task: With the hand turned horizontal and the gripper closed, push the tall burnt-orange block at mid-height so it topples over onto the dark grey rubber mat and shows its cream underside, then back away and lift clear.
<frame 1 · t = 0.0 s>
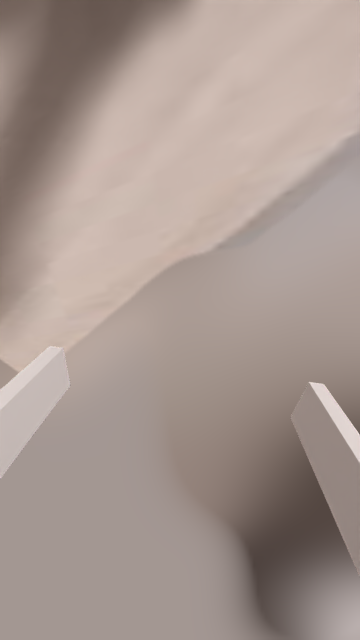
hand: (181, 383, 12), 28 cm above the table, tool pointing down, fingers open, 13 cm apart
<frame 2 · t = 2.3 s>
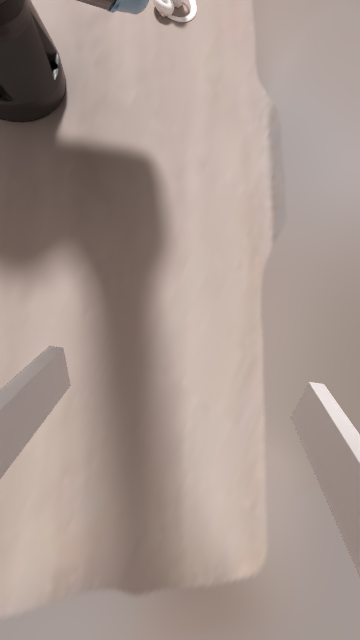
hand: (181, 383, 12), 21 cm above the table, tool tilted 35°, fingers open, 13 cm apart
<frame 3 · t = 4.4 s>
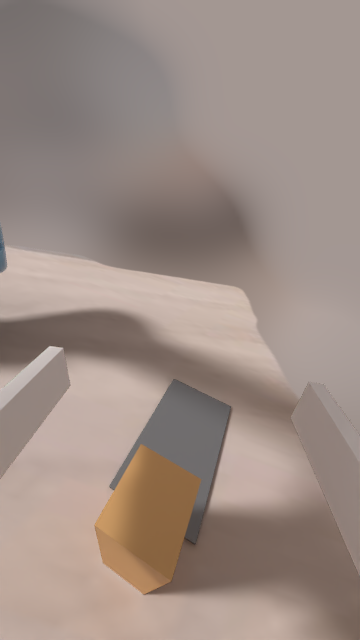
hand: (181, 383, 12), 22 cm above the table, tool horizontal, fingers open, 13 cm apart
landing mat: (181, 440, 31), on the table
tall block: (136, 546, 21), on the table
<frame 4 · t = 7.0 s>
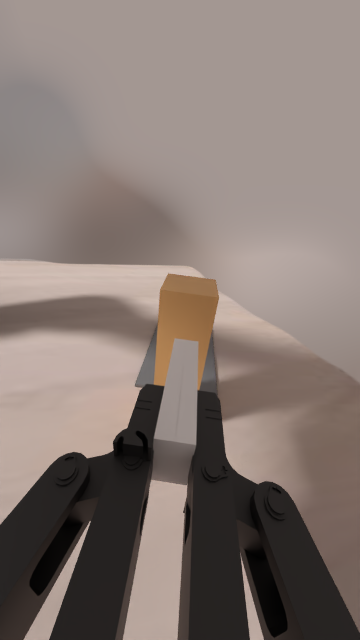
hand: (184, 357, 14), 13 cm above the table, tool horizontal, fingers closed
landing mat: (181, 351, 36), on the table
tall block: (173, 409, 26), on the table
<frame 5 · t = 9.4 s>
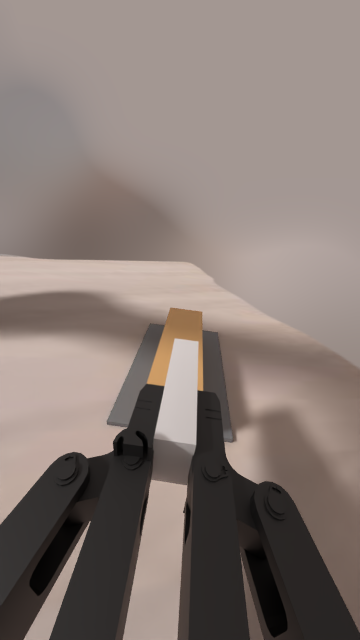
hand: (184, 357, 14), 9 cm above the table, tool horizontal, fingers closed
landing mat: (178, 366, 26), on the table
tall block: (170, 419, 17), point 3 cm above the table, tilted 90°, touching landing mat
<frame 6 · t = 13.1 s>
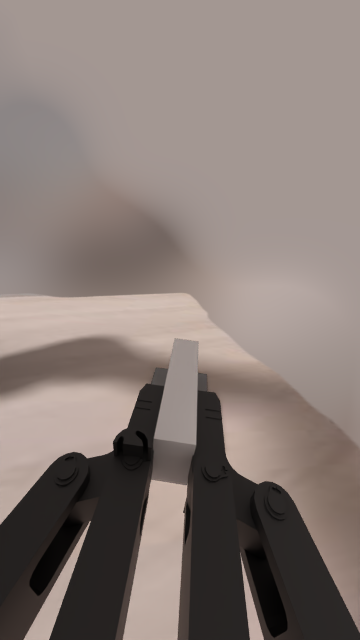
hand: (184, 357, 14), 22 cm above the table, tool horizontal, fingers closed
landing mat: (176, 406, 37), on the table
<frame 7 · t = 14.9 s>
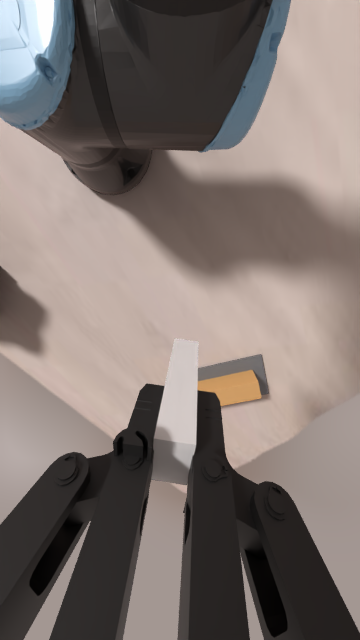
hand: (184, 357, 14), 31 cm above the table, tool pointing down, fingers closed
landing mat: (227, 381, 51), on the table
tall block: (188, 397, 50), point 3 cm above the table, tilted 90°, touching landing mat
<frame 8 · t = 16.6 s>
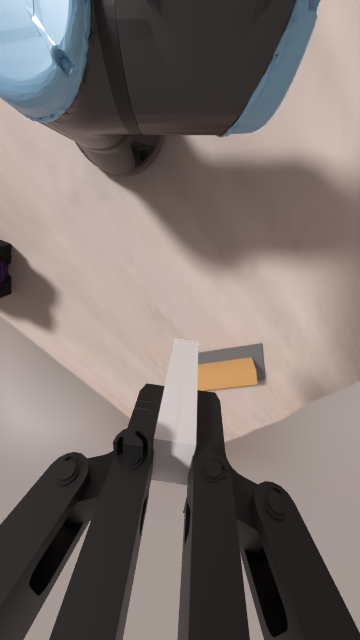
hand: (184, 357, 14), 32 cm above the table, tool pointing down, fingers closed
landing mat: (226, 366, 54), on the table
tall block: (189, 378, 53), point 3 cm above the table, tilted 90°, touching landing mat
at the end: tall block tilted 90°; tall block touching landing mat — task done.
